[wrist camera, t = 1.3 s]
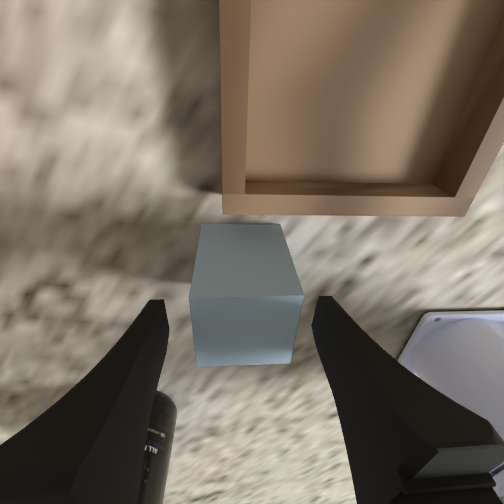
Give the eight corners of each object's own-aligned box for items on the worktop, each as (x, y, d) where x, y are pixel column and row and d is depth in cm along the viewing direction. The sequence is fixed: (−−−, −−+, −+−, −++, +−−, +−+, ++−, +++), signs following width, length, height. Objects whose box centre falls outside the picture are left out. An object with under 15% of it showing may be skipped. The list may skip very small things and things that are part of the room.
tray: (590, -150, 9) (690, -210, 7) (435, 198, 16) (464, 216, 14) (217, -201, 8) (214, -288, 6) (223, 195, 14) (222, 214, 13)
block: (280, 224, 16) (303, 295, 11) (273, 283, 18) (290, 363, 13) (201, 223, 15) (189, 297, 10) (205, 284, 18) (196, 366, 13)
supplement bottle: (168, 381, 24) (124, 607, 14) (184, 419, 28) (160, 617, 18) (88, 390, 24) (-13, 624, 14) (116, 426, 27) (53, 630, 17)
